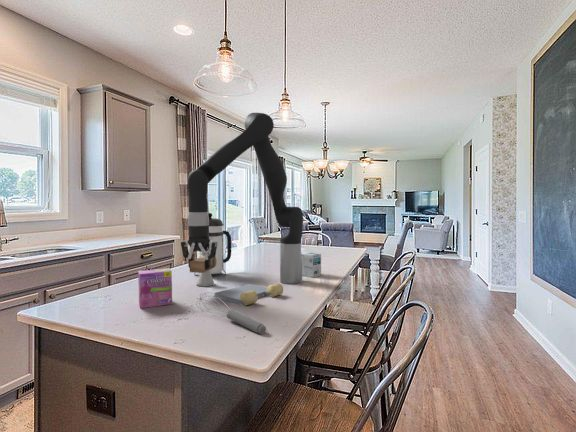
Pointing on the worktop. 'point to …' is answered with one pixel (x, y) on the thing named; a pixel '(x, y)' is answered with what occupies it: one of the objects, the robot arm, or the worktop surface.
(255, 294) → the grey flat piece
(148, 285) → the box
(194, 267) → the tan wooden beam
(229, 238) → the coffee press
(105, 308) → the worktop surface
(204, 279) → the flask
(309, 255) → the light bulb box
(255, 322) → the kitchen whisk
